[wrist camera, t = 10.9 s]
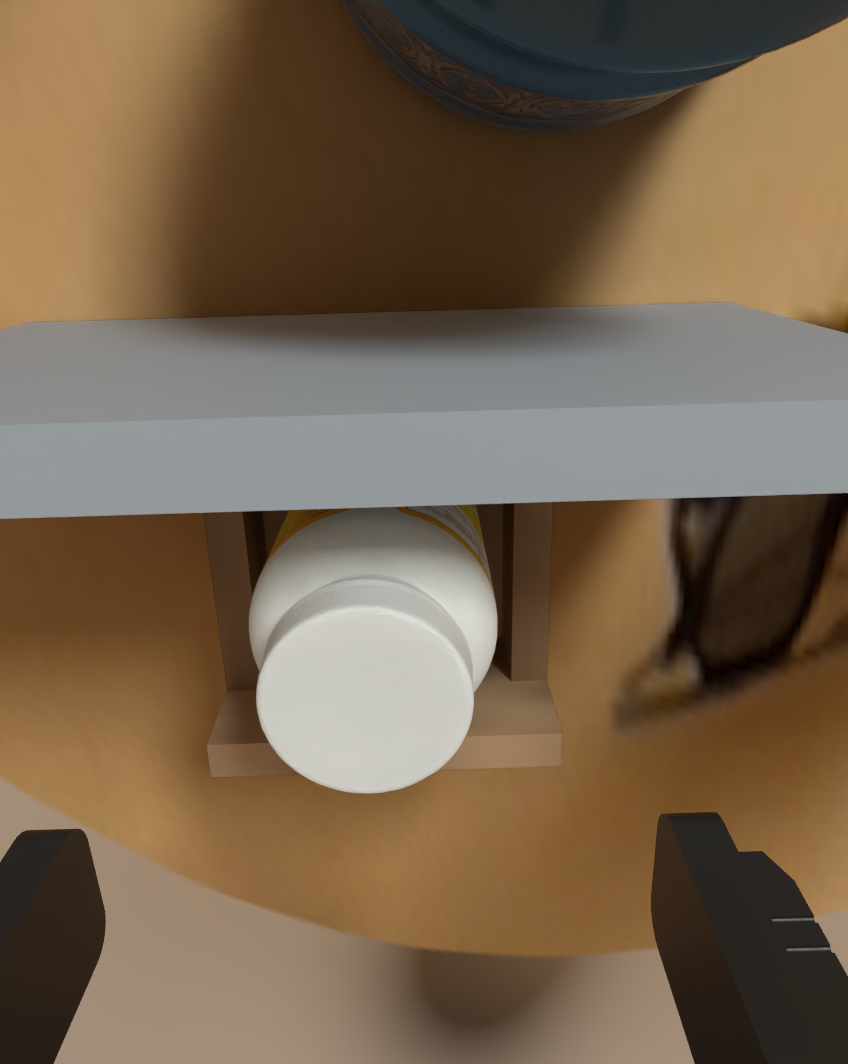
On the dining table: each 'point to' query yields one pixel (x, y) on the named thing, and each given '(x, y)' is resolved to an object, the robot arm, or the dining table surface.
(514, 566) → the cleat pocket
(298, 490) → the wall board
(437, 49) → the canister
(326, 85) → the dining table surface
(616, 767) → the dining table surface
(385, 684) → the supplement bottle
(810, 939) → the robot arm
